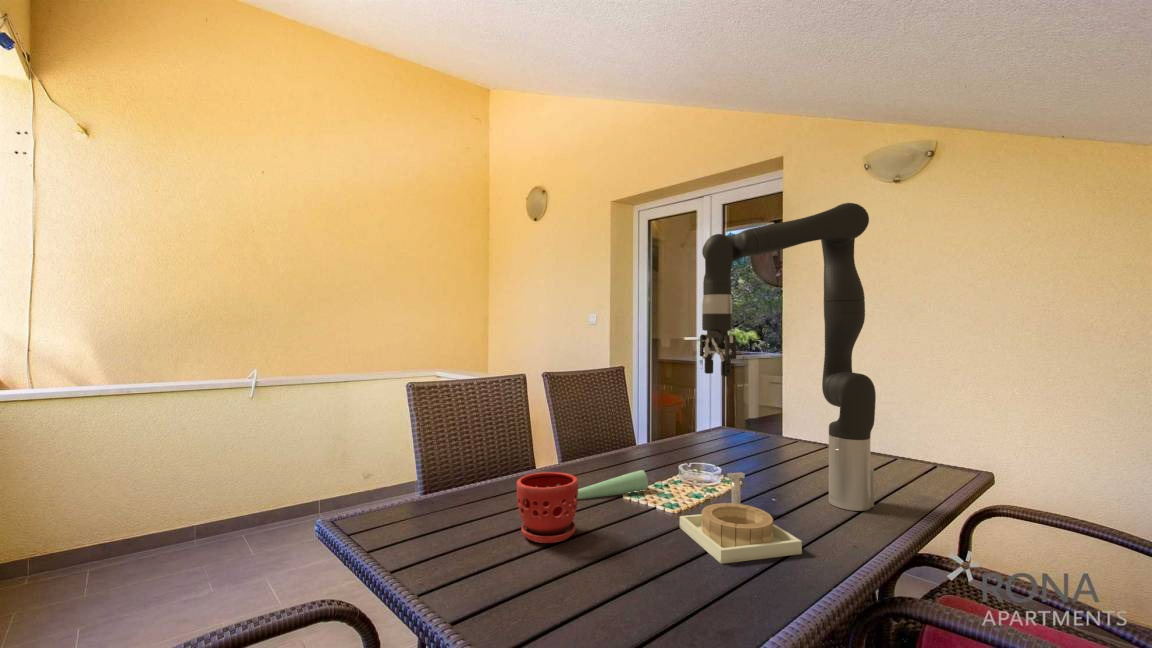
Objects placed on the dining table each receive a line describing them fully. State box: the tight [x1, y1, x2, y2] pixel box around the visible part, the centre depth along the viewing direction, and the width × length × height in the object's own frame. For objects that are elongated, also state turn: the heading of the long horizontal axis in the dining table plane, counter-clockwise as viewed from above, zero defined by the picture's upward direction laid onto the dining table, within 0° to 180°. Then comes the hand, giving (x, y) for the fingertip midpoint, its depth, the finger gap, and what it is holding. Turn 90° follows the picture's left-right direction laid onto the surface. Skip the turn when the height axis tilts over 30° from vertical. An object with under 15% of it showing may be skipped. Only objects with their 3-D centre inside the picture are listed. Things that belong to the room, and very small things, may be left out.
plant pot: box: [516, 471, 579, 544], centre depth 108 cm, size 13×13×12 cm
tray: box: [679, 513, 803, 564], centre depth 105 cm, size 18×18×2 cm
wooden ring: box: [701, 502, 774, 548], centre depth 106 cm, size 14×14×4 cm
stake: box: [726, 472, 746, 504], centre depth 122 cm, size 4×2×9 cm, turn 104°
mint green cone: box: [577, 469, 649, 500], centre depth 133 cm, size 5×6×27 cm
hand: (717, 374), depth 131 cm, fingers open, 8 cm apart
